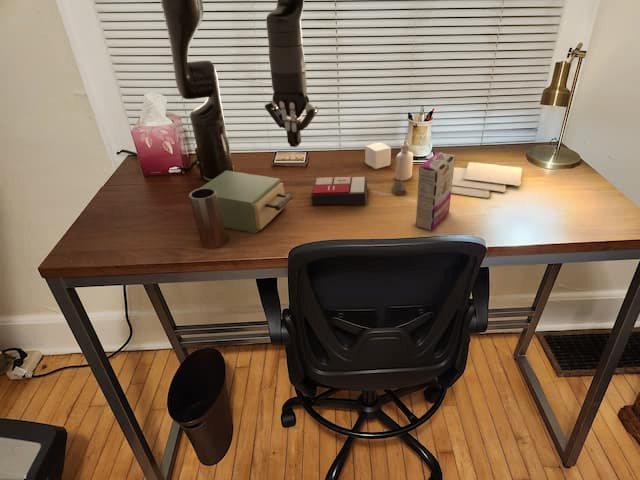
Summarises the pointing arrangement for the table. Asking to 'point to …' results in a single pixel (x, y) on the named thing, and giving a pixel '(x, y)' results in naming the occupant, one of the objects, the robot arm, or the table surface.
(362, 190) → the red and black box
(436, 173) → the candy bar box
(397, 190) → the block
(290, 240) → the table surface
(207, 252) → the table surface
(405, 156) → the eye dropper bottle
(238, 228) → the cabinet
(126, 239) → the table surface
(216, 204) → the metal cup
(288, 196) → the drawer
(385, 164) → the cream white cube
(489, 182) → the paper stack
